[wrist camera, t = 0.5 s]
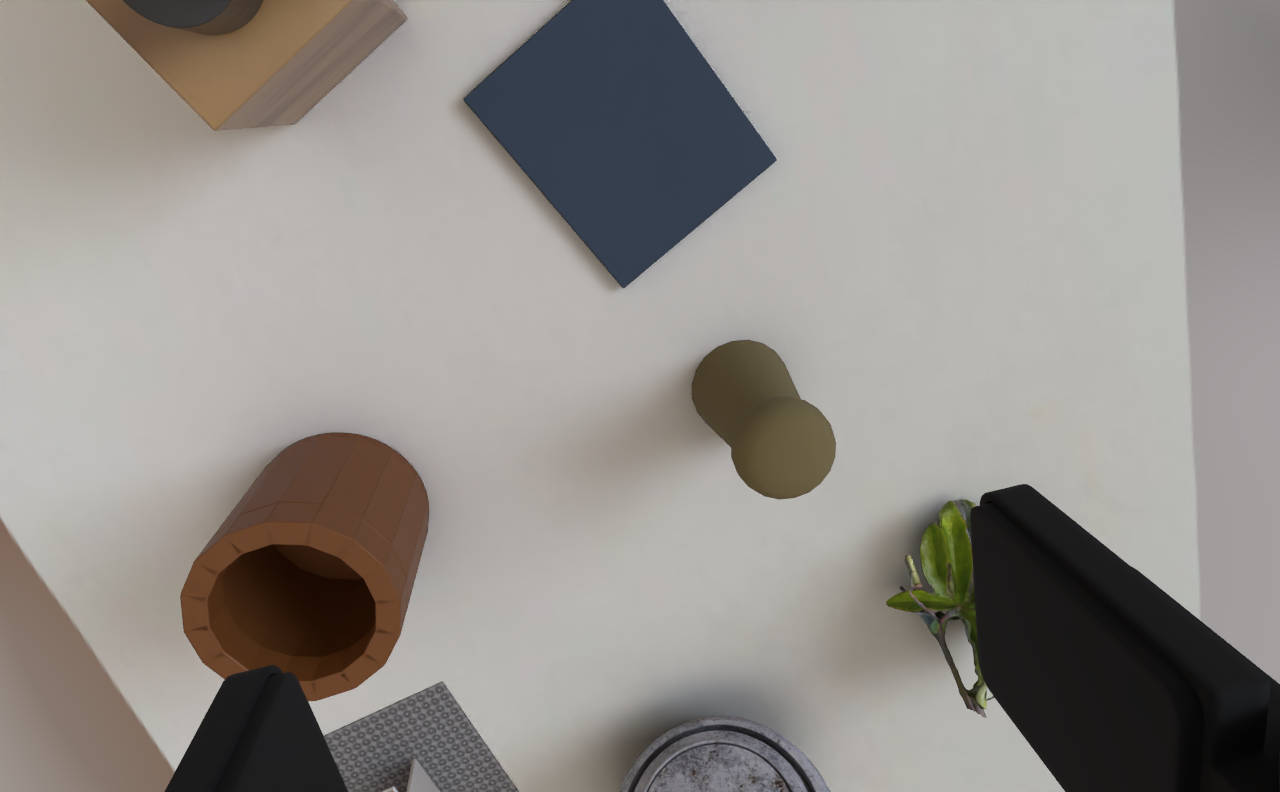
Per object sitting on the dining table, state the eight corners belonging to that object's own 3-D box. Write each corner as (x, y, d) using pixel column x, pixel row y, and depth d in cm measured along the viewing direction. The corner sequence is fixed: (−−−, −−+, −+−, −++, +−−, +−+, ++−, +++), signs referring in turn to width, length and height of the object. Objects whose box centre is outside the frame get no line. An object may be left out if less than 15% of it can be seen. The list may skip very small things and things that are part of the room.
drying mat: (463, 99, 42) (462, 99, 42) (626, -48, 41) (627, -51, 40) (622, 286, 47) (623, 288, 46) (774, 159, 45) (777, 160, 45)
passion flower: (967, 538, 62) (1069, 689, 55) (841, 584, 59) (931, 749, 53) (1027, 459, 52) (1157, 630, 46) (880, 511, 50) (995, 699, 44)
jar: (220, 504, 48) (133, 613, 38) (342, 398, 47) (286, 481, 37) (346, 608, 51) (298, 734, 41) (463, 513, 50) (444, 618, 40)
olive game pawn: (700, 443, 50) (742, 530, 40) (683, 352, 48) (722, 419, 38) (794, 421, 51) (859, 502, 40) (781, 329, 49) (846, 390, 38)
